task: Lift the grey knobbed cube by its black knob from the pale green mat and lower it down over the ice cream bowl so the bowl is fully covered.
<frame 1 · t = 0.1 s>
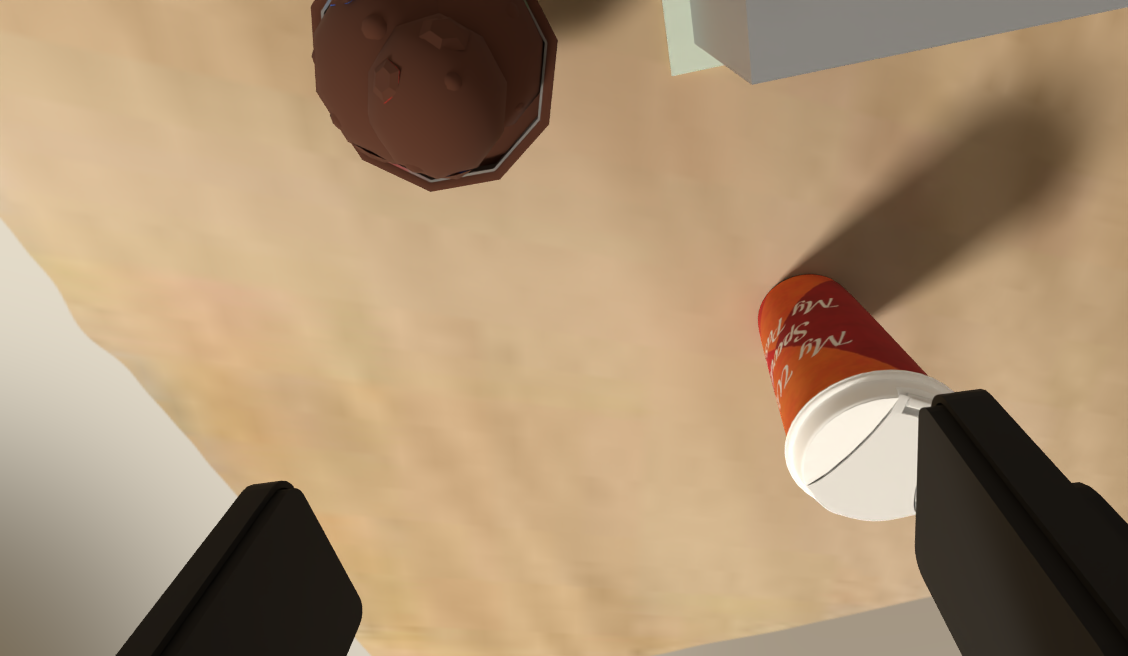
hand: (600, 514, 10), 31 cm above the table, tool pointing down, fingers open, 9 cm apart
ice cream bowl: (478, 50, 36), on the table
coffee cup: (802, 314, 42), on the table
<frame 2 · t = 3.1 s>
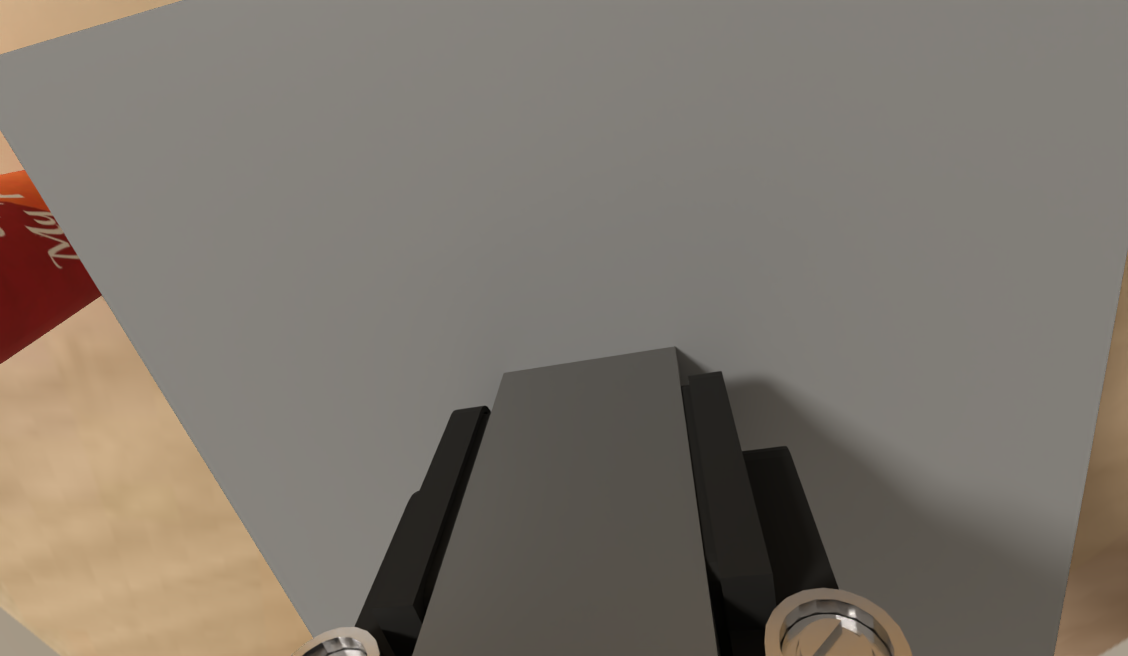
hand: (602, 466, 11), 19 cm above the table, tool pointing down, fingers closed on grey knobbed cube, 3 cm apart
coffee cup: (87, 223, 31), on the table
grey knobbed cube: (617, 177, 27), resting on mat, touching gripper
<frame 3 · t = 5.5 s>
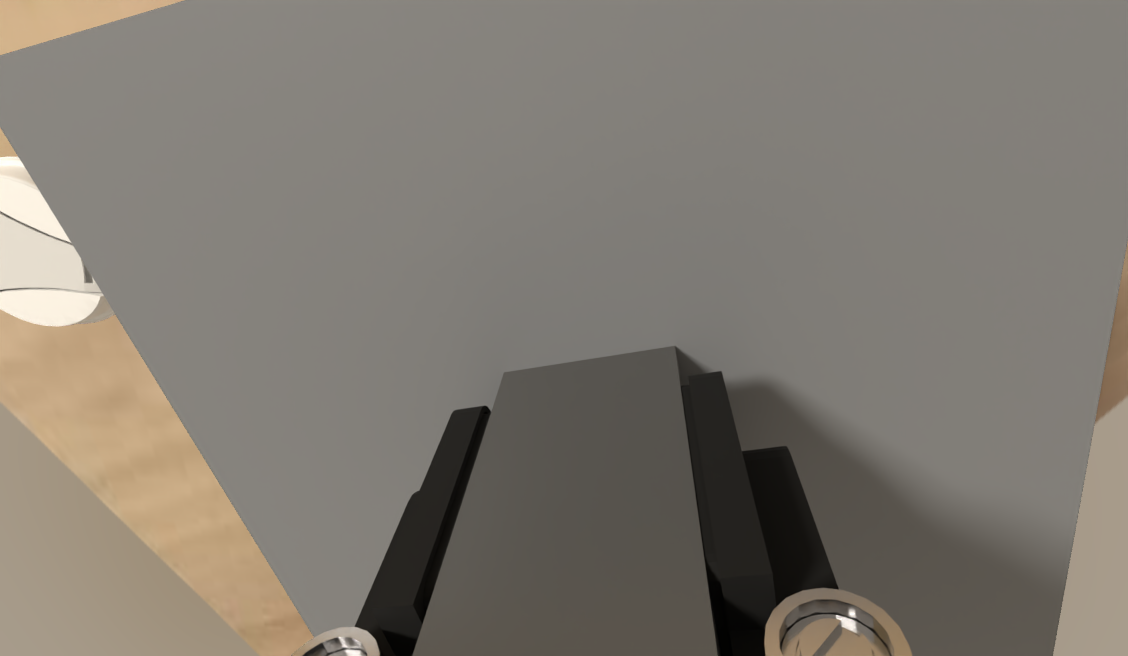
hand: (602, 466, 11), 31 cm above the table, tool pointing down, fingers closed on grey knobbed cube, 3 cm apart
coffee cup: (212, 173, 42), on the table
grey knobbed cube: (617, 177, 27), point 13 cm above the table, touching gripper
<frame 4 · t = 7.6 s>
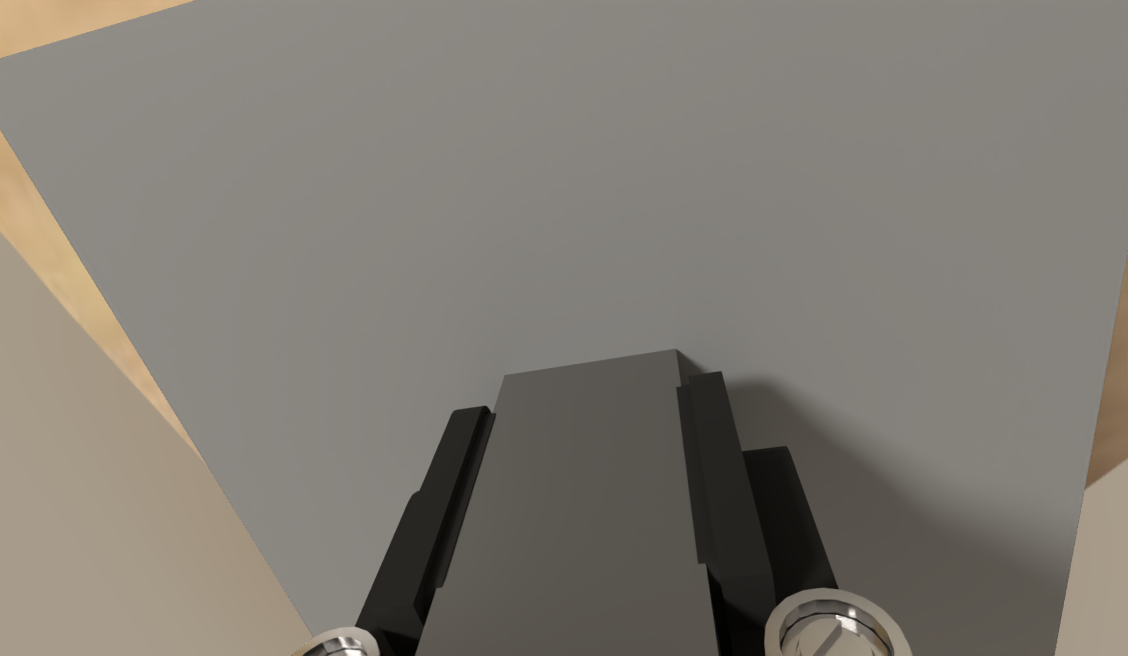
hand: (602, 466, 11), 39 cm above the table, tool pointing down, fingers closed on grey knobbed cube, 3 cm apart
grey knobbed cube: (617, 178, 27), point 20 cm above the table, touching gripper
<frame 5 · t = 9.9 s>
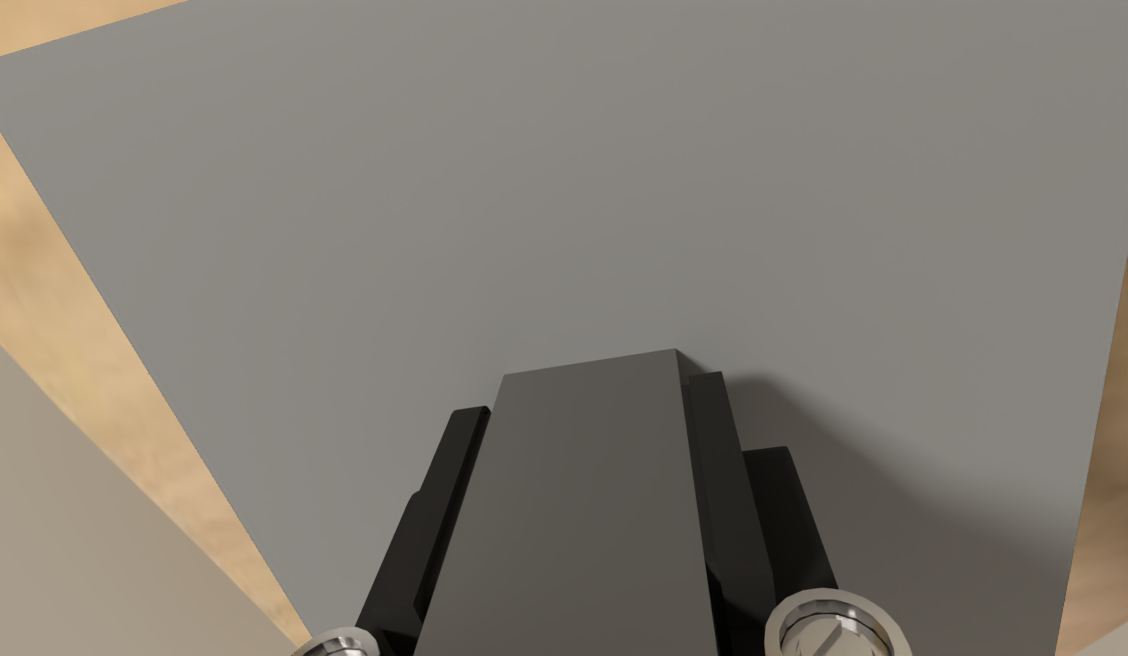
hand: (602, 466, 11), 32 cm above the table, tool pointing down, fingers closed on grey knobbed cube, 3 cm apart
grey knobbed cube: (617, 178, 27), point 13 cm above the table, touching gripper
when the fingers open (20 cm above the table, at t = 12.1 s): grey knobbed cube drops 2 cm, on the table.
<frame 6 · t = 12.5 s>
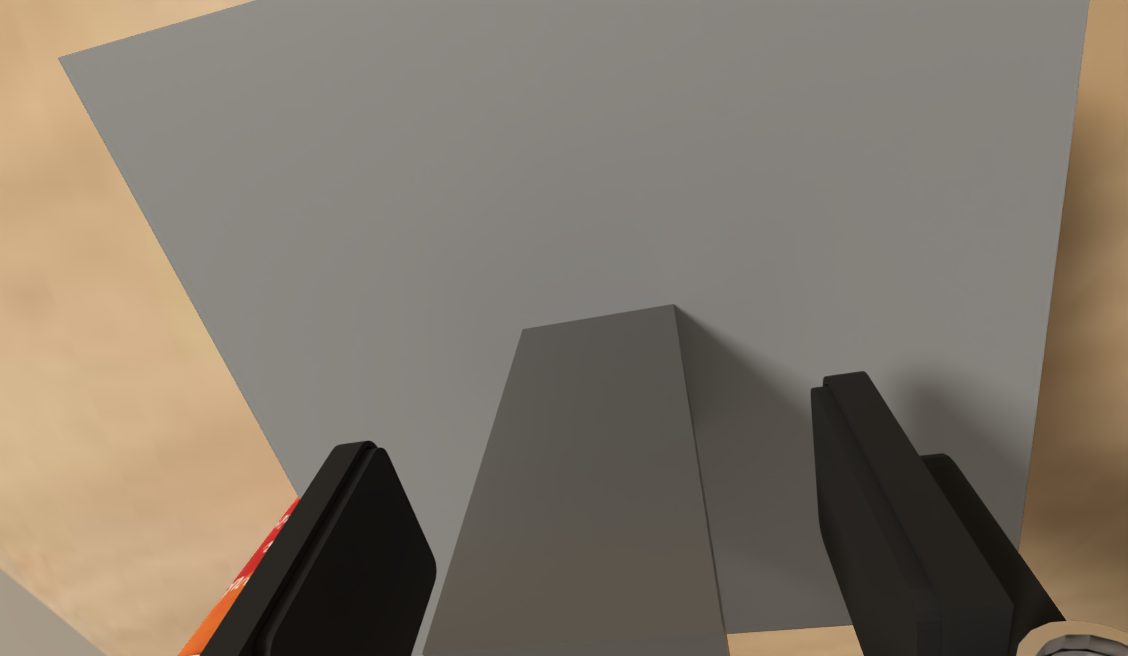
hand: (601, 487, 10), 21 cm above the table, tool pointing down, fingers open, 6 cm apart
coffee cup: (357, 495, 40), on the table
grey knobbed cube: (619, 168, 29), on the table
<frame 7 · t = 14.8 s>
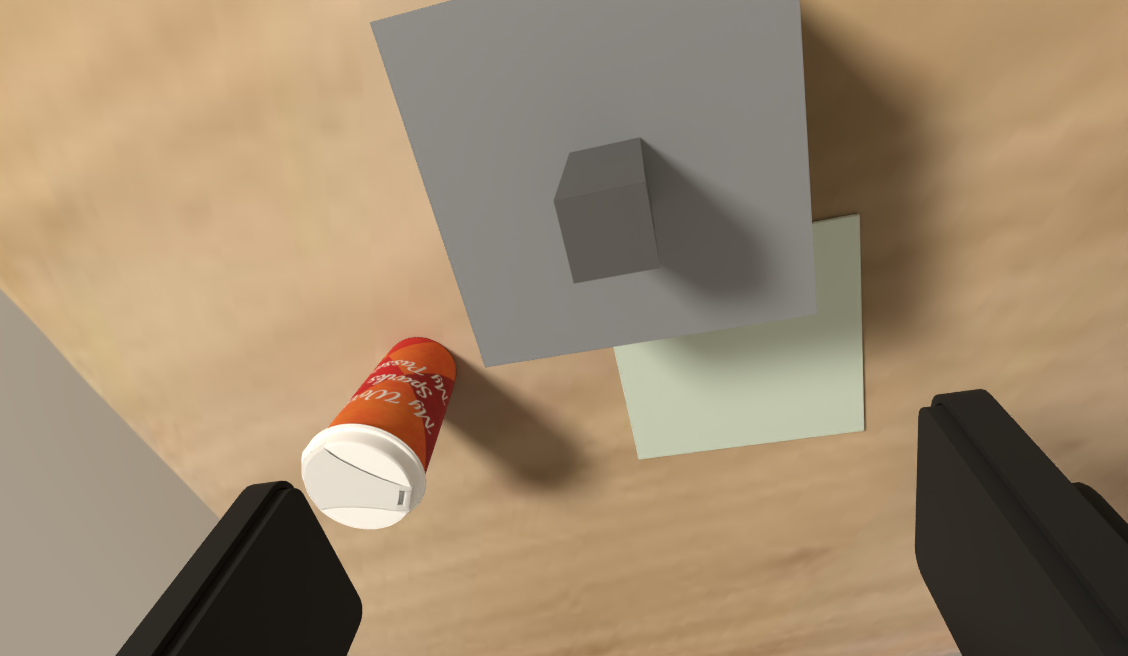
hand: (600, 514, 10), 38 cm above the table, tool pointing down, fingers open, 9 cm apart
coffee cup: (422, 365, 54), on the table
grey knobbed cube: (615, 111, 43), on the table
mat: (735, 349, 50), on the table
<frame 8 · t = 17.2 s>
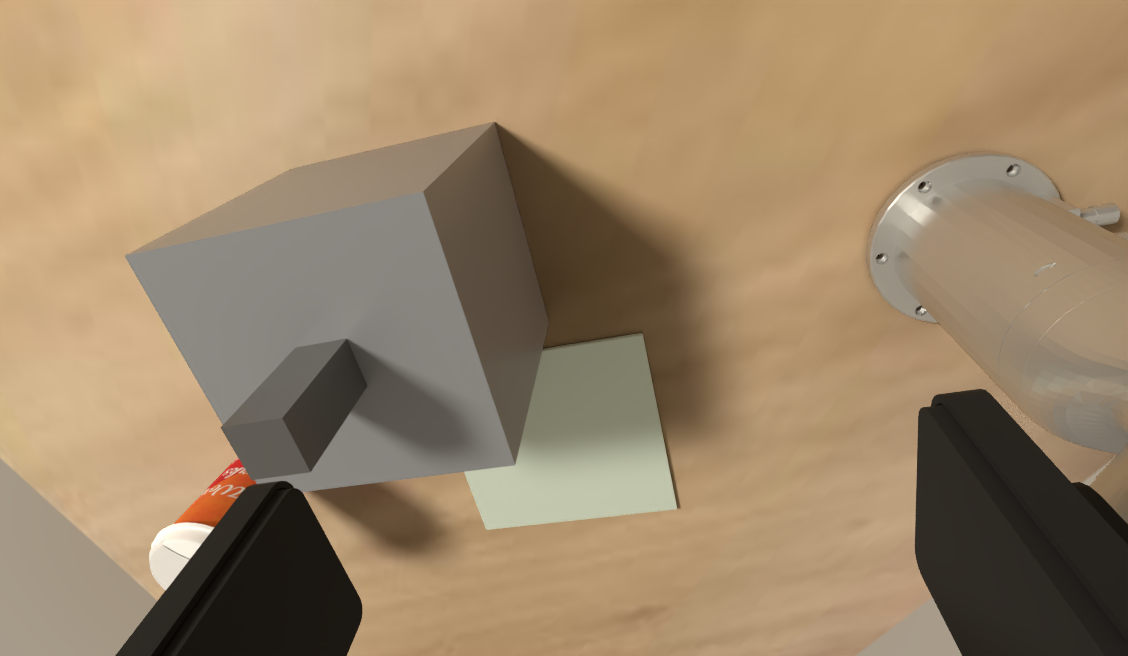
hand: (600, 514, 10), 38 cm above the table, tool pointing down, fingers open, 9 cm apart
coffee cup: (289, 448, 61), on the table
grey knobbed cube: (425, 248, 49), on the table
mat: (556, 439, 57), on the table
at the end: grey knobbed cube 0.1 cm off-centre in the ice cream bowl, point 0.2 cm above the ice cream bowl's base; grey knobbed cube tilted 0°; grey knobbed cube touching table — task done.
